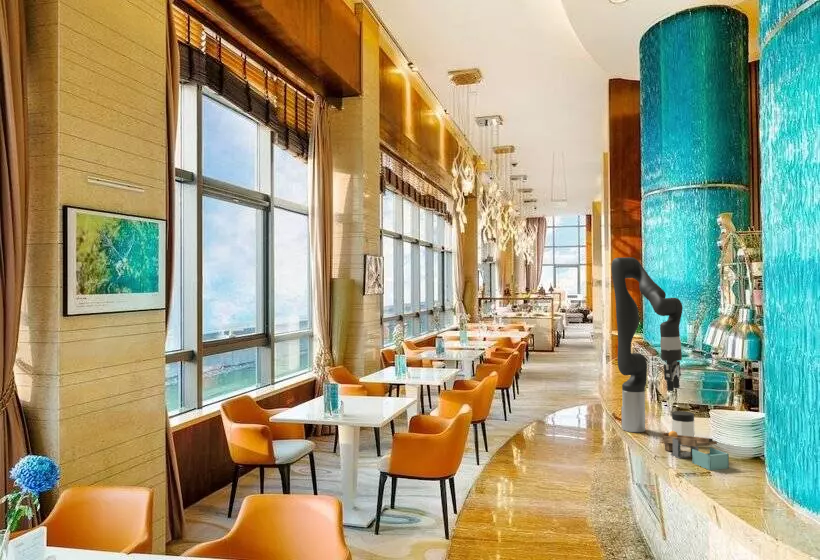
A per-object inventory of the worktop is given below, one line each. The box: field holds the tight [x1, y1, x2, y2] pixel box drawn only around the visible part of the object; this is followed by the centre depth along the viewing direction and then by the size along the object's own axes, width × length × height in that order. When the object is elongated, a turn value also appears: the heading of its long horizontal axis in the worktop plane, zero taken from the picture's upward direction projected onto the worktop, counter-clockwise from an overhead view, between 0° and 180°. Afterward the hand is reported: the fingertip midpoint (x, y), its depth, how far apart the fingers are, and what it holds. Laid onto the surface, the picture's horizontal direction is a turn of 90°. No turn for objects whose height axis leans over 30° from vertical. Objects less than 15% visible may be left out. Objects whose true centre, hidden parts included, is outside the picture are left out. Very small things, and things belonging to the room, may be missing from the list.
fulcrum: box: [670, 438, 699, 460], centre depth 228 cm, size 5×9×6 cm, turn 105°
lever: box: [661, 432, 718, 452], centre depth 229 cm, size 18×10×6 cm, turn 15°
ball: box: [668, 430, 678, 437], centre depth 235 cm, size 3×3×3 cm
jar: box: [671, 410, 696, 437], centre depth 246 cm, size 9×8×12 cm
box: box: [691, 446, 730, 471], centre depth 216 cm, size 9×8×5 cm
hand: (673, 389), depth 243 cm, fingers open, 8 cm apart
